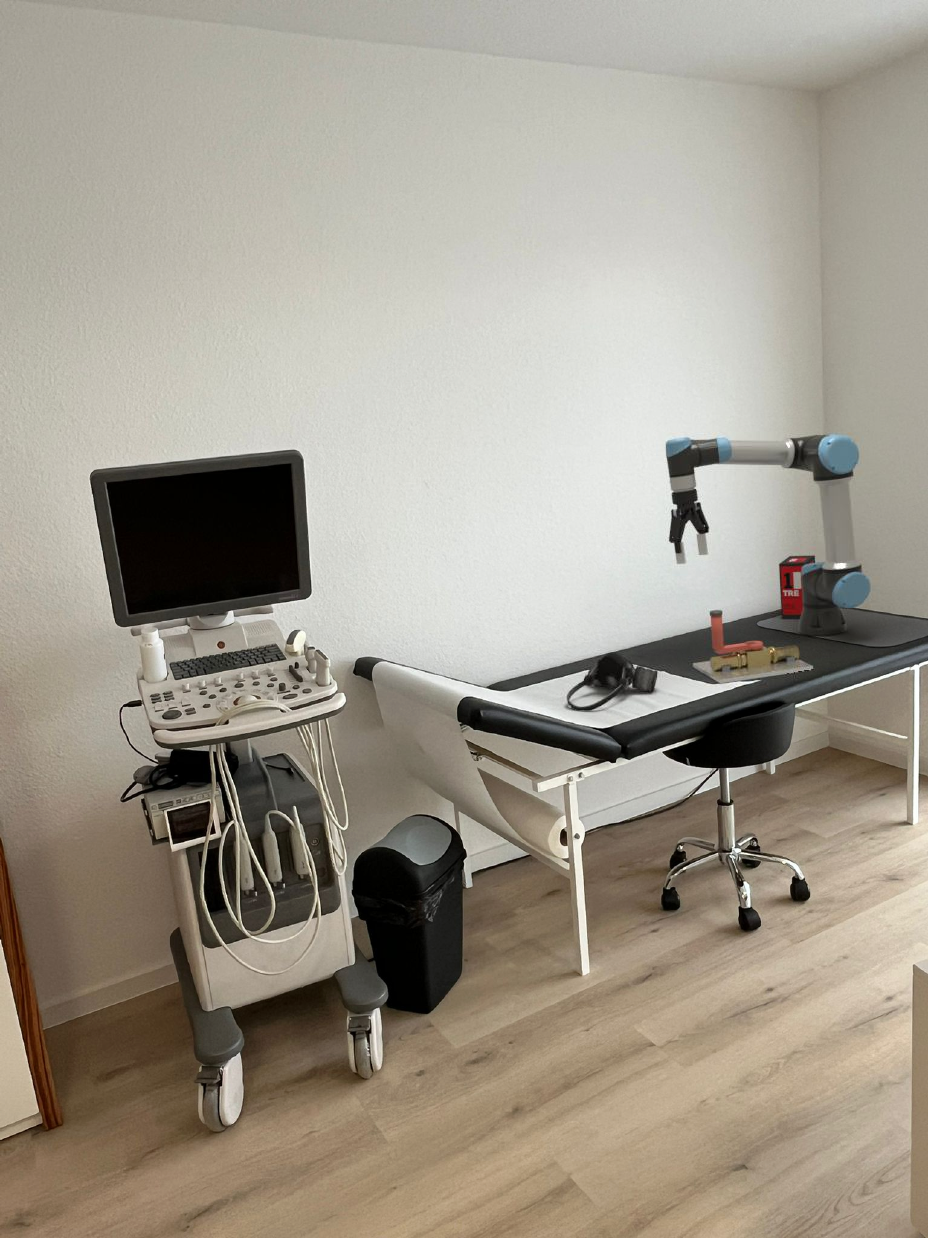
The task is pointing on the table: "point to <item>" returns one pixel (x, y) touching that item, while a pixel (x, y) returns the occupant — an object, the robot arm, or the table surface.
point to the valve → (753, 664)
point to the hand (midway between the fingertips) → (692, 559)
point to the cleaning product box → (792, 585)
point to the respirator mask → (615, 678)
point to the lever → (718, 637)
